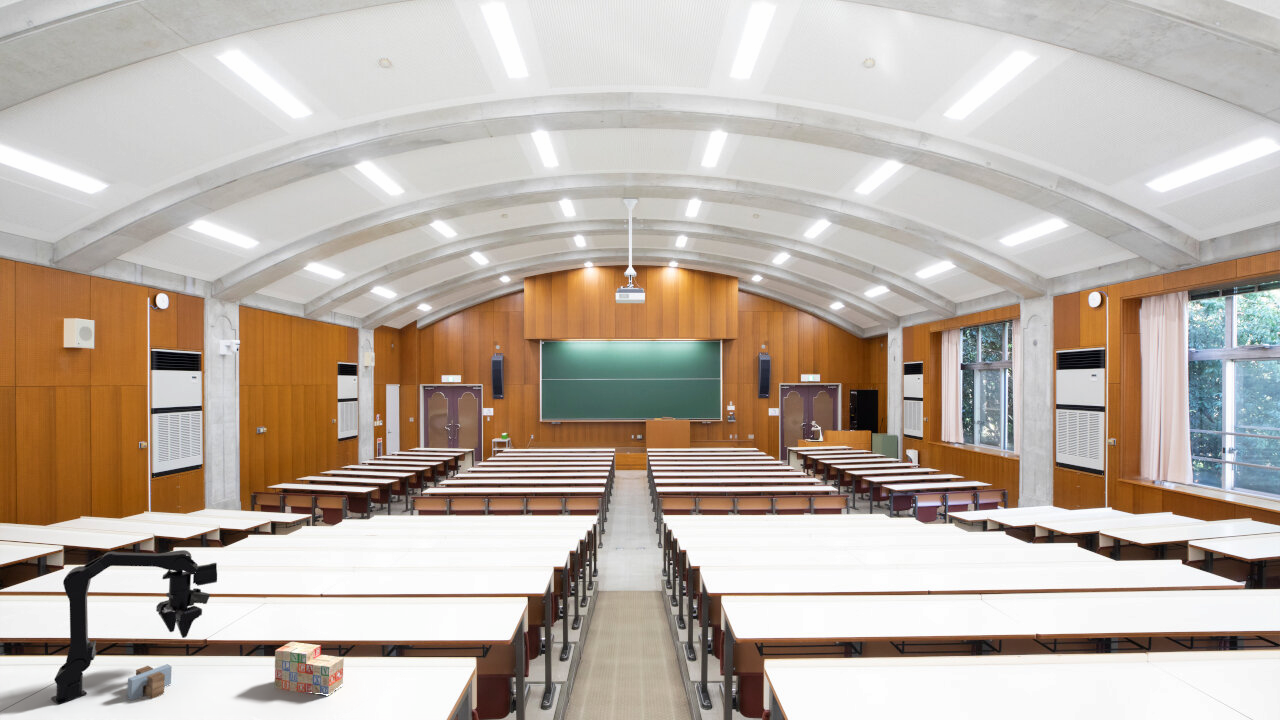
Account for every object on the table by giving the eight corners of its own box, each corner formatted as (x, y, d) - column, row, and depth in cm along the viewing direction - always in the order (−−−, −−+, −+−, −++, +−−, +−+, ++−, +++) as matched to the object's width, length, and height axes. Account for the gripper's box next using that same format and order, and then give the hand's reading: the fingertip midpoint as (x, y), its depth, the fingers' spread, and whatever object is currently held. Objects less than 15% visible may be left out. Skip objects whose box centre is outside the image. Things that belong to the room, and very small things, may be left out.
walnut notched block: (135, 688, 177) (136, 669, 177) (147, 684, 180) (147, 665, 180) (152, 698, 171) (152, 679, 172) (163, 693, 174) (164, 674, 174)
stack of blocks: (343, 686, 178) (344, 648, 179) (328, 697, 172) (329, 657, 173) (290, 678, 183) (291, 640, 184) (273, 688, 177) (274, 649, 178)
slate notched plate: (131, 700, 170) (132, 680, 171) (127, 697, 172) (128, 678, 172) (170, 684, 179) (171, 666, 179) (166, 682, 181) (167, 664, 181)
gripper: (220, 585, 193) (218, 631, 192) (194, 577, 201) (192, 620, 201) (181, 596, 183) (180, 644, 182) (156, 587, 192) (154, 632, 191)
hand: (178, 634), depth 189 cm, fingers open, 9 cm apart
